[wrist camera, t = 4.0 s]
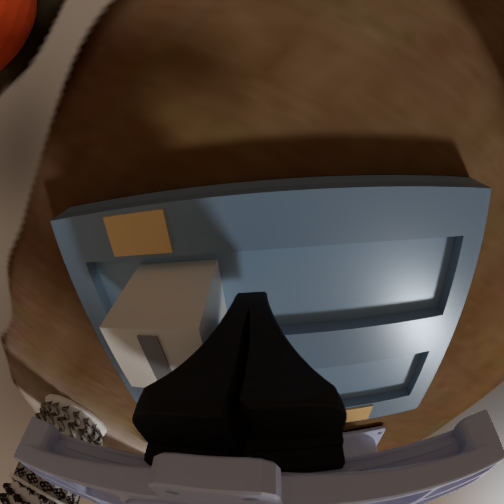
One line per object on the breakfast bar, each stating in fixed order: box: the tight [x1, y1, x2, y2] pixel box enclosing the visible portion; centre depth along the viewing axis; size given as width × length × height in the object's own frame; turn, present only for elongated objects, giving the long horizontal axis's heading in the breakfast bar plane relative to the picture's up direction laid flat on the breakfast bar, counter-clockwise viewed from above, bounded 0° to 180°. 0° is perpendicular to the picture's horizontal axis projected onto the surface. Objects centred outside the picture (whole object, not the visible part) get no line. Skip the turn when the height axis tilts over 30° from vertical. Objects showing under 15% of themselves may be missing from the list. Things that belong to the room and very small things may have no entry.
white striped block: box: [99, 259, 227, 388], centre depth 13 cm, size 4×4×5 cm
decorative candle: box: [0, 394, 107, 504], centre depth 15 cm, size 9×9×25 cm
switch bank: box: [50, 175, 491, 422], centre depth 16 cm, size 18×22×2 cm
